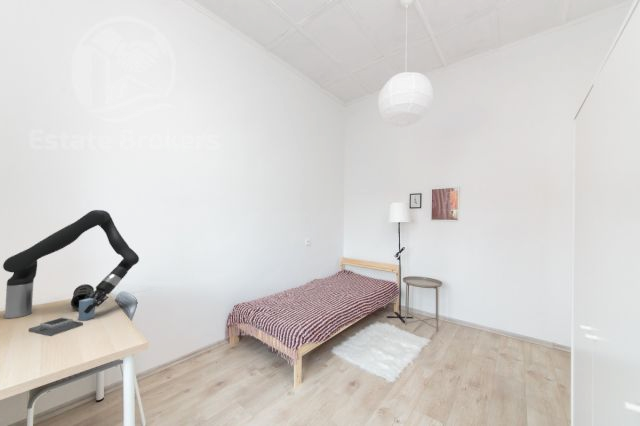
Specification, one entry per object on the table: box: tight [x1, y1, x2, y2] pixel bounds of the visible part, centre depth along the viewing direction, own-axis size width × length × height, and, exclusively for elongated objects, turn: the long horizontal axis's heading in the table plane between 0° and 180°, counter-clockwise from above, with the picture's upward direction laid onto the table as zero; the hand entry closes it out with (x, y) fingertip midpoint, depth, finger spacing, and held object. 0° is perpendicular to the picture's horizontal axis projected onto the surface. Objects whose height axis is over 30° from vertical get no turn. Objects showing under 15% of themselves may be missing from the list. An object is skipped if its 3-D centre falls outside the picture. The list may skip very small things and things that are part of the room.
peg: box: [77, 298, 96, 322], centre depth 128 cm, size 4×4×10 cm
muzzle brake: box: [70, 284, 95, 310], centre depth 149 cm, size 10×28×10 cm, turn 43°
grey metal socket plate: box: [28, 316, 84, 337], centre depth 117 cm, size 16×12×3 cm
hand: (82, 312), depth 126 cm, fingers closed on peg, 4 cm apart
